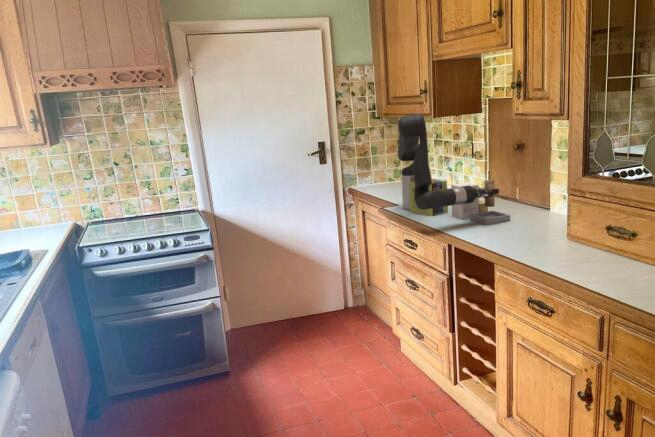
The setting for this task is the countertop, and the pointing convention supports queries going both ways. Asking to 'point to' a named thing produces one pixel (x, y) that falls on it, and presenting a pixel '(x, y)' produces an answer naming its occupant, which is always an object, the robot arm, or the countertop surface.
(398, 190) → the countertop surface
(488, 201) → the dowel
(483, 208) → the stop block
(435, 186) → the protein box
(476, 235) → the countertop surface
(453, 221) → the countertop surface
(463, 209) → the supplement box
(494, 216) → the tray
